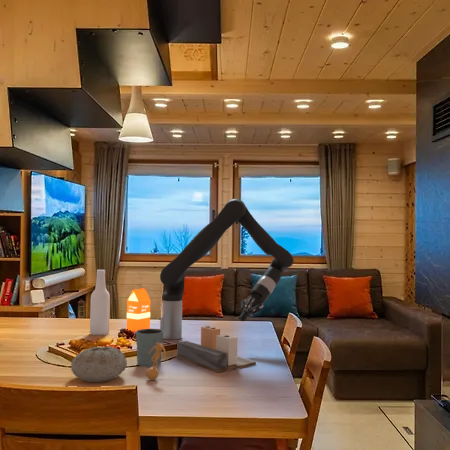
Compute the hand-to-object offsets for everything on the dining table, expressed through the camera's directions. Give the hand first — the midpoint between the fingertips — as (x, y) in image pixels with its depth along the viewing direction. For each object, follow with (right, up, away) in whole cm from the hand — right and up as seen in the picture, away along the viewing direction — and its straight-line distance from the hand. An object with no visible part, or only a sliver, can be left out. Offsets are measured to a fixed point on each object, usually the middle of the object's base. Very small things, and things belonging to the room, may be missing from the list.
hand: (241, 319), depth 201 cm
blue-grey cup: (-35, -12, -22) cm, 43 cm away
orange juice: (-49, -13, +40) cm, 65 cm away
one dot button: (-6, -11, -24) cm, 27 cm away
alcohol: (-66, -12, +28) cm, 72 cm away
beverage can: (-36, -13, +53) cm, 66 cm away
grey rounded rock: (-48, -12, -41) cm, 64 cm away
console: (-10, -12, -17) cm, 23 cm away
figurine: (-30, -12, -41) cm, 52 cm away
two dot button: (-12, -11, -8) cm, 19 cm away
